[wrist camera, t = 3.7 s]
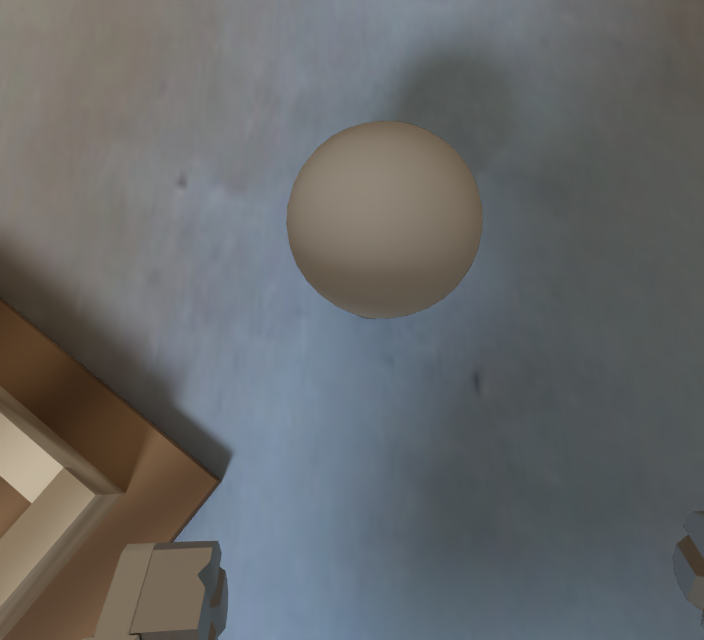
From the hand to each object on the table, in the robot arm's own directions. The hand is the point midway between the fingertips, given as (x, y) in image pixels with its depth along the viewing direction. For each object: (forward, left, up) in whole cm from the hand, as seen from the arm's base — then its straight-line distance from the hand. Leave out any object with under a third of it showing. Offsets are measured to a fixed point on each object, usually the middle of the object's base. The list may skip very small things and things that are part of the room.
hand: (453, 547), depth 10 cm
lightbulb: (+6, -7, -15) cm, 17 cm away
